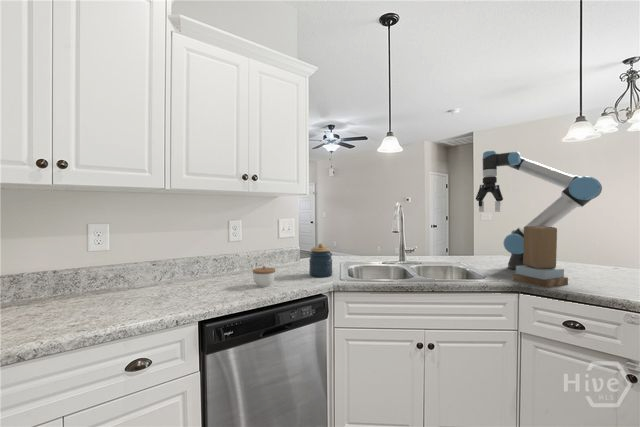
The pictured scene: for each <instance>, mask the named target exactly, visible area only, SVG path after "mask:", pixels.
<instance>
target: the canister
mask: <svg viewBox="0 0 640 427" xmlns="http://www.w3.org/2000/svg"><path fill="white" fill-rule="evenodd" d="M331 251H332V249H330V248H329V247H327V246H324V245H323V243H318V245H317V246H315V247H313V248H310V253H309V254H308V255H309V260H308V261H309V272H308V273H309V276H310V277H313V278H314V277H315V278H329V277H331V276H332V275H333V259H332V256H333V253H332V252H331ZM328 276H329V277H328Z"/></svg>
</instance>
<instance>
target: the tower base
mask: <svg viewBox="0 0 640 427" xmlns="http://www.w3.org/2000/svg"><path fill="white" fill-rule="evenodd" d="M512 281H514V282H518V283H523V282H525V283H524V284H528V283H529V284H528V285H533V286H537V287H542V288H553V287H559V286H565V285H569V277H567V276H564V277H562V278H554V279H546V280H544V279H539V278H534V277H529V276H524V275H519V274H516V272H515V273H513V274H512Z"/></svg>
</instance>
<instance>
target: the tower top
mask: <svg viewBox="0 0 640 427" xmlns="http://www.w3.org/2000/svg"><path fill="white" fill-rule="evenodd" d="M515 273H516V274H519V275H524V276H529V277H534V278H539V279H544V280H546V279H554V278H562V277H565V268H560V267H556V268H550V269H536V268H533V267H530V266H526V265H521V266H516V269H515Z"/></svg>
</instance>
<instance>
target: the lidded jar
mask: <svg viewBox="0 0 640 427" xmlns="http://www.w3.org/2000/svg"><path fill="white" fill-rule="evenodd" d="M275 276H276V269H275V267H266V265H262V267H258V268H253V269H252V277H253V278H252V279H253V282H254V283H255V285H257V287H258V288H267V287H271V285H272V284H273V283H274V281H275V278H276V277H275Z"/></svg>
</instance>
